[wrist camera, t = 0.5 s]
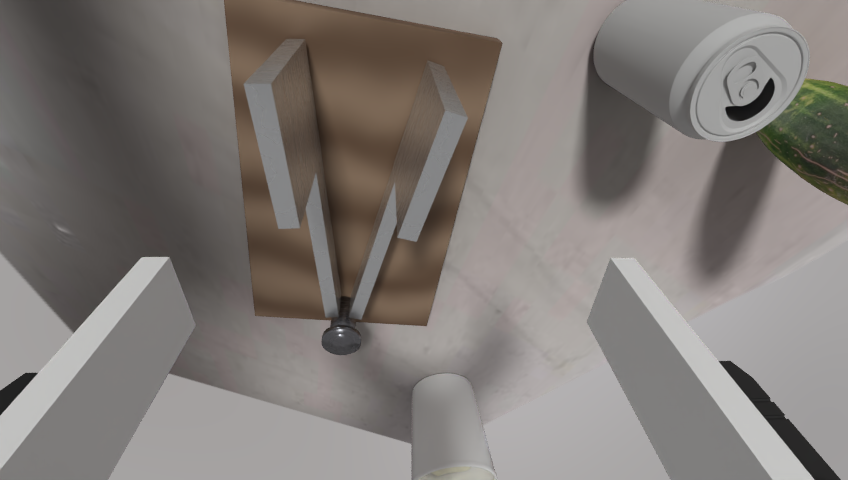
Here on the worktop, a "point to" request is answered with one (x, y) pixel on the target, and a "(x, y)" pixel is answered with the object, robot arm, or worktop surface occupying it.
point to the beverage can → (702, 64)
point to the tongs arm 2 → (413, 175)
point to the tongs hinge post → (342, 332)
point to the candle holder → (448, 431)
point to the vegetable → (814, 136)
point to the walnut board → (353, 149)
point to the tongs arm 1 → (295, 155)
